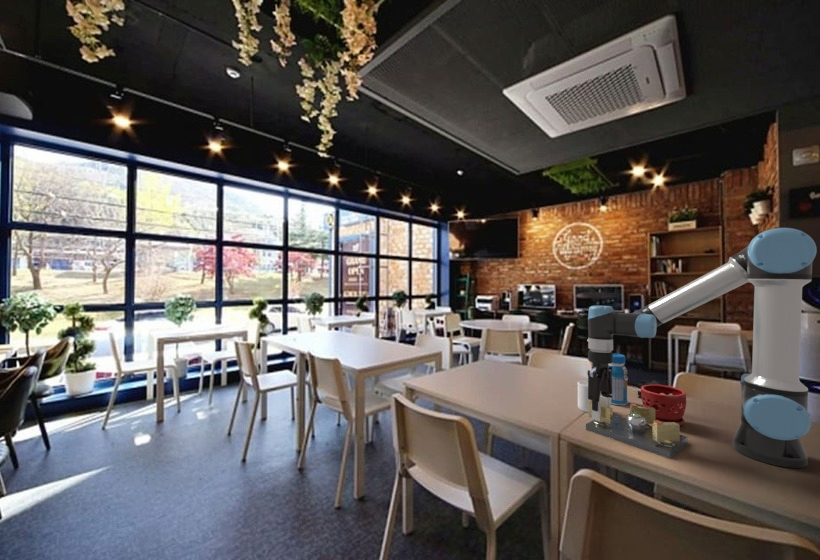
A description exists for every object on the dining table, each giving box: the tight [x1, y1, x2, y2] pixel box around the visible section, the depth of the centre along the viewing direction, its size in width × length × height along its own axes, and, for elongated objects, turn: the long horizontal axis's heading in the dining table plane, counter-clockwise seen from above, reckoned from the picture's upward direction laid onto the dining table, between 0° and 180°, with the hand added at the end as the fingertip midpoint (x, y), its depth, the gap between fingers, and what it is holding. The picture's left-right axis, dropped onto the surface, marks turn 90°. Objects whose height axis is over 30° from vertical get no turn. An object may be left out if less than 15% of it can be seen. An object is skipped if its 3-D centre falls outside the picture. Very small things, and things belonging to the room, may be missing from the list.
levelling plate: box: [585, 413, 689, 459], centre depth 113 cm, size 24×17×7 cm
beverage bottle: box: [608, 353, 629, 406], centre depth 145 cm, size 8×8×20 cm
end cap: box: [637, 379, 661, 400], centre depth 151 cm, size 10×7×7 cm
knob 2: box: [652, 421, 681, 445], centre depth 104 cm, size 7×3×6 cm, turn 93°
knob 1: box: [588, 401, 613, 424], centre depth 119 cm, size 7×3×6 cm, turn 37°
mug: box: [577, 380, 612, 413], centre depth 135 cm, size 12×8×10 cm
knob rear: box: [629, 403, 655, 426], centre depth 117 cm, size 7×3×6 cm, turn 72°
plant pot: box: [640, 384, 687, 427], centre depth 125 cm, size 13×13×12 cm
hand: (600, 417), depth 119 cm, fingers open, 5 cm apart
